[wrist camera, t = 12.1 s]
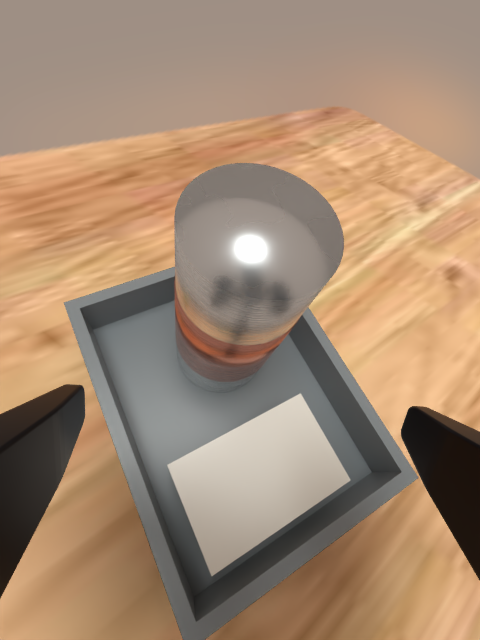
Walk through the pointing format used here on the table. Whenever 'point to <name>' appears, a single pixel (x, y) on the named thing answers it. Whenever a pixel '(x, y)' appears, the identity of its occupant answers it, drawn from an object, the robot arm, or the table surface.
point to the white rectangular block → (256, 480)
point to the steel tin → (246, 268)
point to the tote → (214, 421)
